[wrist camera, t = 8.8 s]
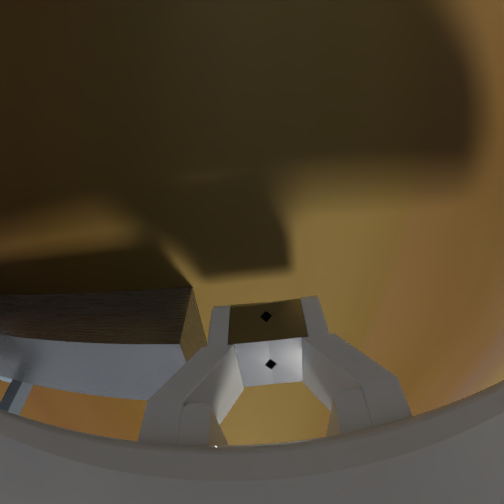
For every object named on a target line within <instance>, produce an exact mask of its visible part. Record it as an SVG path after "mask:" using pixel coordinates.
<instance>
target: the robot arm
mask: <svg viewBox="0 0 504 504" xmlns="http://www.w3.org/2000/svg"><path fill="white" fill-rule="evenodd" d="M298 381H303V383H304V384H305V385H306V386H307V387H308V388H309V389H310V390H311V391H312V393H313V394H314V395H315V396H316V397H317V398H318V399H319V400H320V401H321V402H322V403H323V404H324V405H325V406H326V407H327V408H328V409H329V410H330V411H331V414H330V419H329V424H328V430H327V435H326V437H320V438H314V439H307V440H299V441H290V442H281V443H269V444H255V445H232V446H229V445H228V442H227V440H226V438H225V436H224V434H223V432H222V430H221V428H220V424H221V422H222V421H223V419H224V418H225V416H226V415H227V413H228V412H229V410H230V409H231V407H232V406H233V404H234V403H235V401H236V400H237V398H238V397H239V395H240V394H241V392H242V391H243V389H244V387H248V386H257V385H266V384H276V383H288V382H298ZM0 504H504V380H503V381H501V382H499V383H497V384H495V385H493V386H491V387H488V388H486V389H484V390H482V391H480V392H477V393H475V394H473V395H470V396H468V397H466V398H463V399H461V400H458V401H456V402H453V403H450V404H448V405H445V406H442V407H439V408H437V409H434V410H431V411H428V412H425V413H422V414H419V415H416V416H412V414H411V411H410V408H409V406H408V403H407V401H406V398H405V395H404V393H403V390H402V388H401V385H400V383H399V380H398V378H397V376H395V375H394V374H392V373H391V372H389V371H388V370H386V369H385V368H383V367H382V366H381V365H379V364H378V363H376V362H375V361H373V360H372V359H370V358H369V357H368V356H366V355H365V354H363V353H362V352H360V351H359V350H358V349H356V348H355V347H353V346H352V345H350V344H349V343H348V342H346V341H345V340H343V339H342V338H340V337H339V336H338V335H336V334H335V333H334V334H329V331H328V328H327V324H326V321H325V318H324V314H323V311H322V308H321V305H320V301H319V298H318V297H317V296H309V297H302V298H300V299H291V300H282V301H274V302H263V303H251V304H237V305H226V306H214V307H213V309H212V314H211V321H210V328H209V335H208V343H207V347H201V348H200V349H199V350H198V351H197V352H196V353H195V354H194V355H193V356H192V357H191V358H190V359H189V360H188V361H187V362H186V363H185V364H184V365H183V366H182V367H181V368H180V369H179V370H178V371H177V372H176V373H175V374H174V375H173V376H172V377H171V378H170V379H169V380H168V381H167V382H166V383H165V384H164V385H163V386H162V387H161V388H160V389H159V390H158V391H157V392H156V393H155V394H154V395H153V396H152V397H151V398H150V399H148V401H147V405H146V409H145V413H144V417H143V421H142V425H141V430H140V434H139V438H138V441H130V440H123V439H116V438H110V437H104V436H98V435H93V434H87V433H82V432H78V431H73V430H69V429H65V428H60V427H56V426H53V425H49V424H45V423H42V422H38V421H35V420H32V419H28V418H25V417H22V416H19V415H16V414H13V413H10V412H7V411H5V410H2V409H0Z"/></svg>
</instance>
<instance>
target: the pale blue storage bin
mask: <svg viewBox="0 0 504 504" xmlns="http://www.w3.org/2000/svg"><path fill="white" fill-rule="evenodd" d="M0 380H2V381H6V382H11V383H10V385H9V387H8V389H7V391H6V393H5V395H4V397H3V399H2V401H1V403H0V409H2V410H5V411H7V412H10V413H13V414H16V415H19V414H20V412H21V410H22V408H23V406H24V403H25V401H26V399H27V397H28V395H29V393H30V391H31V389H32V387H33V385H34V384H30V383H26V382H21V381H17V380H13V379H9V378H6V377H2V376H0Z"/></svg>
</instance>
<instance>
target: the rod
mask: <svg viewBox="0 0 504 504" xmlns="http://www.w3.org/2000/svg"><path fill="white" fill-rule="evenodd" d="M201 347H207V341H206V337H205V333H204V330H203V326H202V322H201V318H200V314H199V311H198V307H197V303H196V299H195V295H194V291H193V287H183V288H167V289H151V290H133V291H113V292H90V293H64V294H27V295H0V376H2V377H6V378H9V379H13V380H17V381H21V382H26V383H30V384H34V385H39V386H44V387H49V388H54V389H59V390H65V391H71V392H77V393H83V394H90V395H98V396H106V397H115V398H125V399H137V400H148V399H150V398H151V397H152V396H153V395H154V394H155V393H156V392H157V391H158V390H159V389H160V388H161V387H162V386H163V385H164V384H165V383H166V382H167V381H168V380H169V379H170V378H171V377H172V376H173V375H174V374H175V373H176V372H177V371H178V370H179V369H180V368H181V367H182V366H183V365H184V364H185V363H186V362H187V361H188V360H189V359H190V358H191V357H192V356H193V355H194V354H195V353H196V352H197V351H198V350H199V349H200V348H201Z"/></svg>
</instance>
